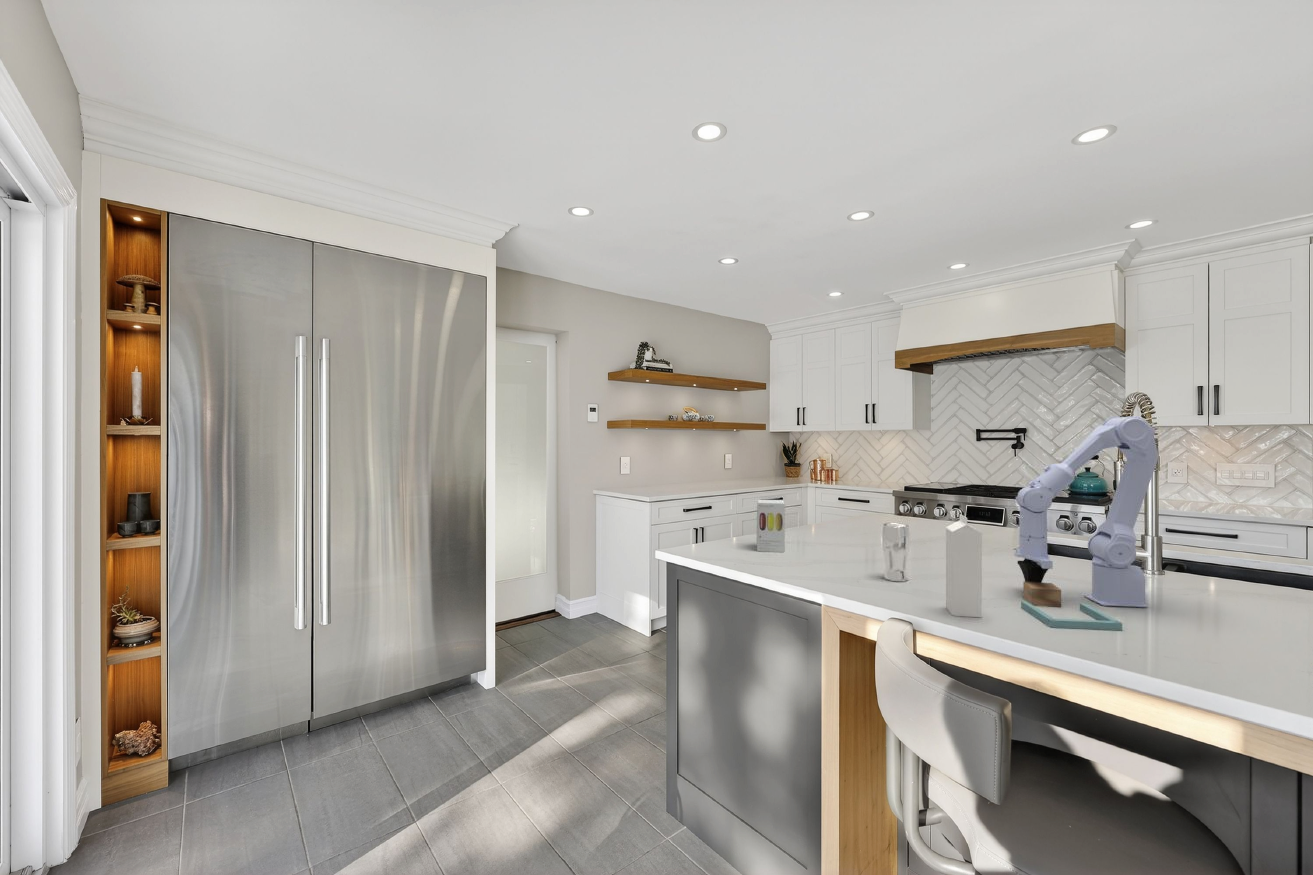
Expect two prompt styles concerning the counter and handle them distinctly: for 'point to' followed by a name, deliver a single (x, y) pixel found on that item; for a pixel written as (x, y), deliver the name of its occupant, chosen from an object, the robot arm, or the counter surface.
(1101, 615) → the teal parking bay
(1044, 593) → the walnut block
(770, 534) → the supplement box
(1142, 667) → the counter surface
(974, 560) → the milk
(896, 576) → the beer glass
